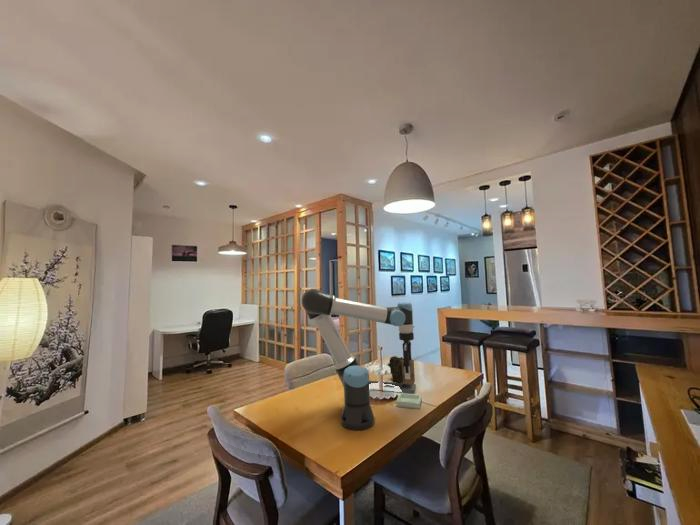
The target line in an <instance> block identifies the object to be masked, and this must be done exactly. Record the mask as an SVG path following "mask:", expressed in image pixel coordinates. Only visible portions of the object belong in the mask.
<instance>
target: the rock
mask: <svg viewBox="0 0 700 525" xmlns="http://www.w3.org/2000/svg"><path fill="white" fill-rule="evenodd" d="M402 361H403V356H401V357H398V356H396V355H395V356H394V355H393V356H391V357H390V358H389V363H388V364H387V367H388V368H390V374H391V378H392V382H395V383H403V376H402Z"/></svg>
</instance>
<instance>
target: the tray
mask: <svg viewBox="0 0 700 525" xmlns="http://www.w3.org/2000/svg"><path fill="white" fill-rule="evenodd" d="M422 399H423V398H422V394H415V393H414V394H408V393H398V396H397V398H396V401H395V404H396V407H397V408H406V409H413V410H414V409H415V410H421V404H422Z"/></svg>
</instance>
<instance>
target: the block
mask: <svg viewBox="0 0 700 525" xmlns="http://www.w3.org/2000/svg"><path fill="white" fill-rule="evenodd" d="M403 365H404V360H403V361H402V376H403V384H410V385H414V384H415V381H416V379H415V378H416V377H415V359H412V360H409V365H410V379H405V370H404V366H403Z"/></svg>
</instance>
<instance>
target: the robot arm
mask: <svg viewBox="0 0 700 525" xmlns="http://www.w3.org/2000/svg"><path fill="white" fill-rule="evenodd" d="M301 306H302V307H303V309H304V311H305V313H306V314H307V317H308V319H309V320H310V321H313V322H314V323H315V325H316V327H317V330H318V331H319V333H320V335H321V338H322V340H323V341H324V343H325V346H326V347H327V349H328V351H329V353H330V355H331V357H332V359H333V361H334V370H335V372H336V373H337V374H336V375H337V376H338V377H339V378H338V379H339V380H340V382H341V384H342V386H343V394H344V396H343V397H344V399H343V400H344V405H343V408H342V413H341V416H340V424H341V426H343V427H344V428H346V429H347V430H351V431H361V430H366V429H369V428H371V427H373V425H374V424H375V415H374V412H373V409H372V406H371V400H370V399H371V396H370V395H371V394H370V391H371V390H369V380H370V373H369V370H368V369H367V367H364V366H362V365H360V364H359V362H358V360H357V358H356V357H355V355H352V354H351V353H350V351H349V349H348V347H347V345H346V343H345V341H344V339H343V336H341V333H340V332H339V329H338V327H337V326H336V323H335V321H334V320H333V317H332V316H331V315H337V316H342V317H348V318H353V319H358V320H364V321H370V322H375V323H381V324H385V325H391V326H394V327H398V338H399V340H400V341H403V343H402V355H403V356H402V358H403V360H404V365H403V366H404V370H405V379H410V365H409V360H413V358H412V347H411V346H412V342H411V341H413V340H414V339H415V337H414V328H415V325H413V324H414V321H413V320H414V317H413V316H414V315H413V313H414V312H413V304H412V303H411V302H406V301H405V302H397V306H393V307H389V306H387V307H386V306H379V305H375V304H369V303H364V302H359V301H355V300H349V299H345V298H340V297H335V295H333V294H331V293H330V294H329V293H326V292H323V291H321V290H320V289H318V288H311V289H307V290H306V291H305V292H304V293H303V294H302V297H301Z"/></svg>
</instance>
